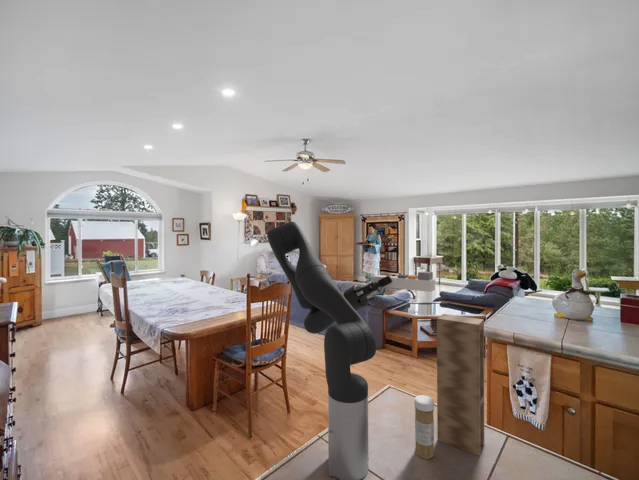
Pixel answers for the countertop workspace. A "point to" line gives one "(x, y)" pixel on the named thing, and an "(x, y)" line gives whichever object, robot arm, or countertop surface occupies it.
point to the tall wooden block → (460, 382)
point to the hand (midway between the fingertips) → (393, 277)
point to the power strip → (410, 281)
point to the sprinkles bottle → (424, 426)
